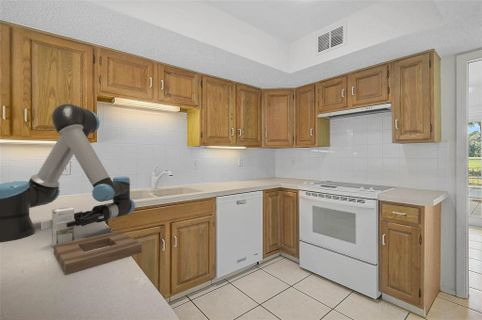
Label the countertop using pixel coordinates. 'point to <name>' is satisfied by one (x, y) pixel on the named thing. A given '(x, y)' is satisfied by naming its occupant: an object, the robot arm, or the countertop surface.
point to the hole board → (95, 251)
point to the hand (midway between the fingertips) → (48, 226)
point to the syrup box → (64, 234)
